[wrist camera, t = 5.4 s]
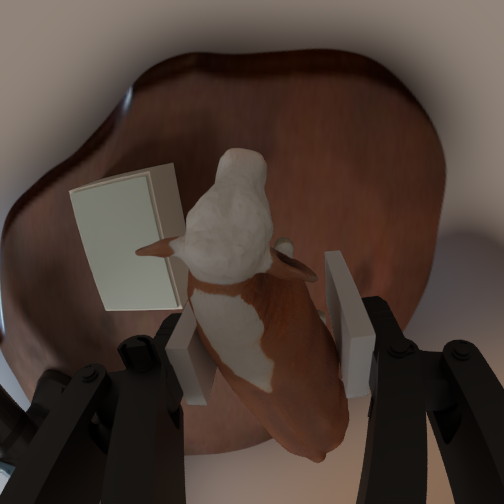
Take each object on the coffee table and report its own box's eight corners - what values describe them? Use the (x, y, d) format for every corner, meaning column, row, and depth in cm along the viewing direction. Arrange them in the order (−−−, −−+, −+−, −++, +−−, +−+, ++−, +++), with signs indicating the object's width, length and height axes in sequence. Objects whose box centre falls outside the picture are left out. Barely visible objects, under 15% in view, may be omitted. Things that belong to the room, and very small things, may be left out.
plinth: (128, 284, 35) (104, 312, 29) (100, 179, 31) (67, 191, 25) (197, 279, 34) (181, 310, 28) (173, 162, 29) (148, 171, 23)
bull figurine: (278, 132, 13) (275, 134, 5) (342, 364, 17) (361, 482, 10) (187, 164, 14) (84, 209, 6) (272, 379, 18) (263, 495, 11)
